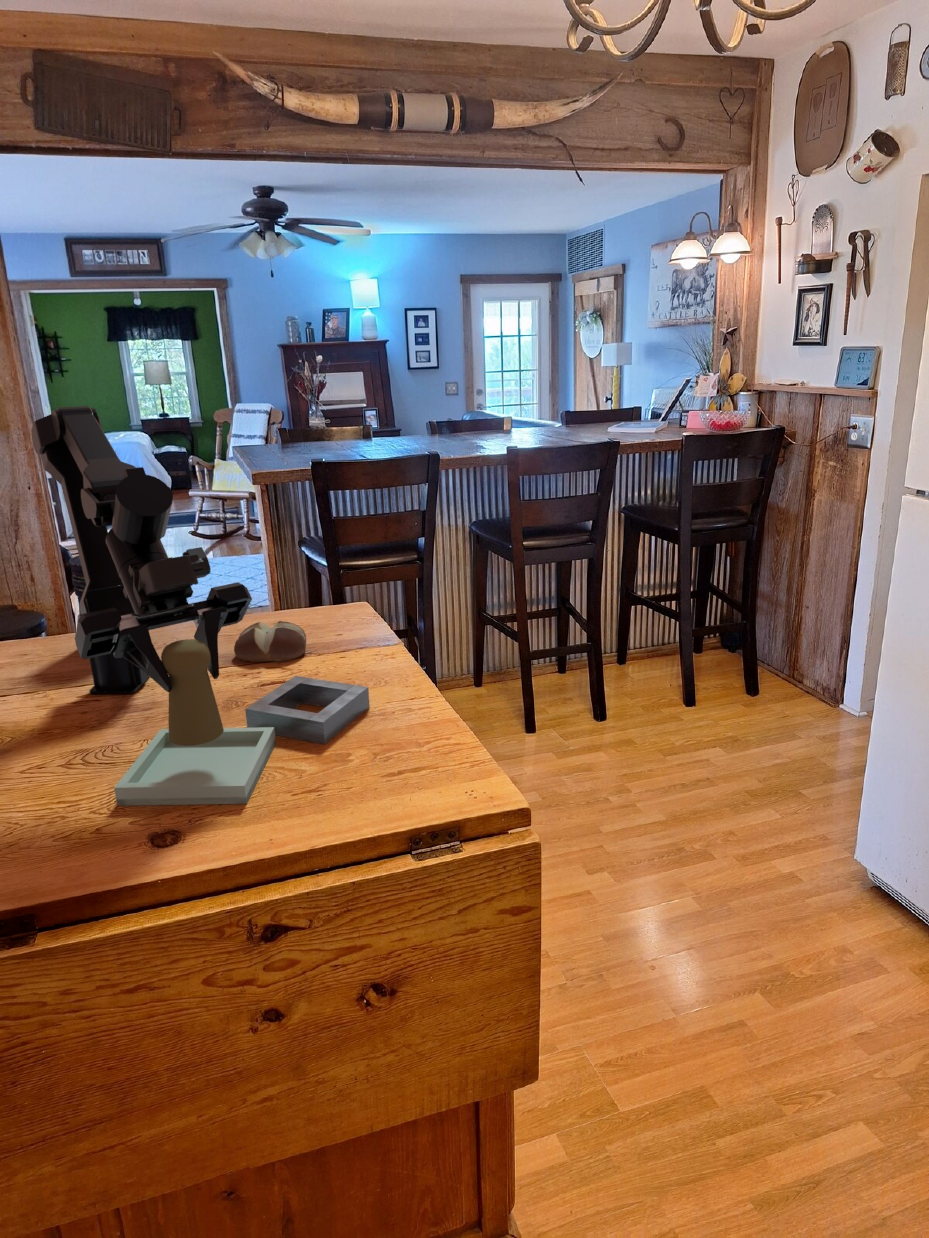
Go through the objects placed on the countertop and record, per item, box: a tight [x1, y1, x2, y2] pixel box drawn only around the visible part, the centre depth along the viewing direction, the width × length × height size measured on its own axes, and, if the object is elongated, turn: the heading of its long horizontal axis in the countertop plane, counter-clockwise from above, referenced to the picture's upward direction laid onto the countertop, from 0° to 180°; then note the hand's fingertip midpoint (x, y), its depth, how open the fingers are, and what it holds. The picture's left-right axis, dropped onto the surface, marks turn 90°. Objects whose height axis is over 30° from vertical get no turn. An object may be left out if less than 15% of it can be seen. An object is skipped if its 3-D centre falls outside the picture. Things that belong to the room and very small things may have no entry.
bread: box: [233, 620, 307, 663], centre depth 131 cm, size 11×11×5 cm
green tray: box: [113, 727, 277, 807], centre depth 94 cm, size 14×14×2 cm
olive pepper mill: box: [160, 638, 224, 746], centre depth 91 cm, size 6×6×11 cm
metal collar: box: [244, 675, 370, 745], centre depth 107 cm, size 12×12×3 cm
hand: (193, 683), depth 89 cm, fingers closed on olive pepper mill, 5 cm apart
